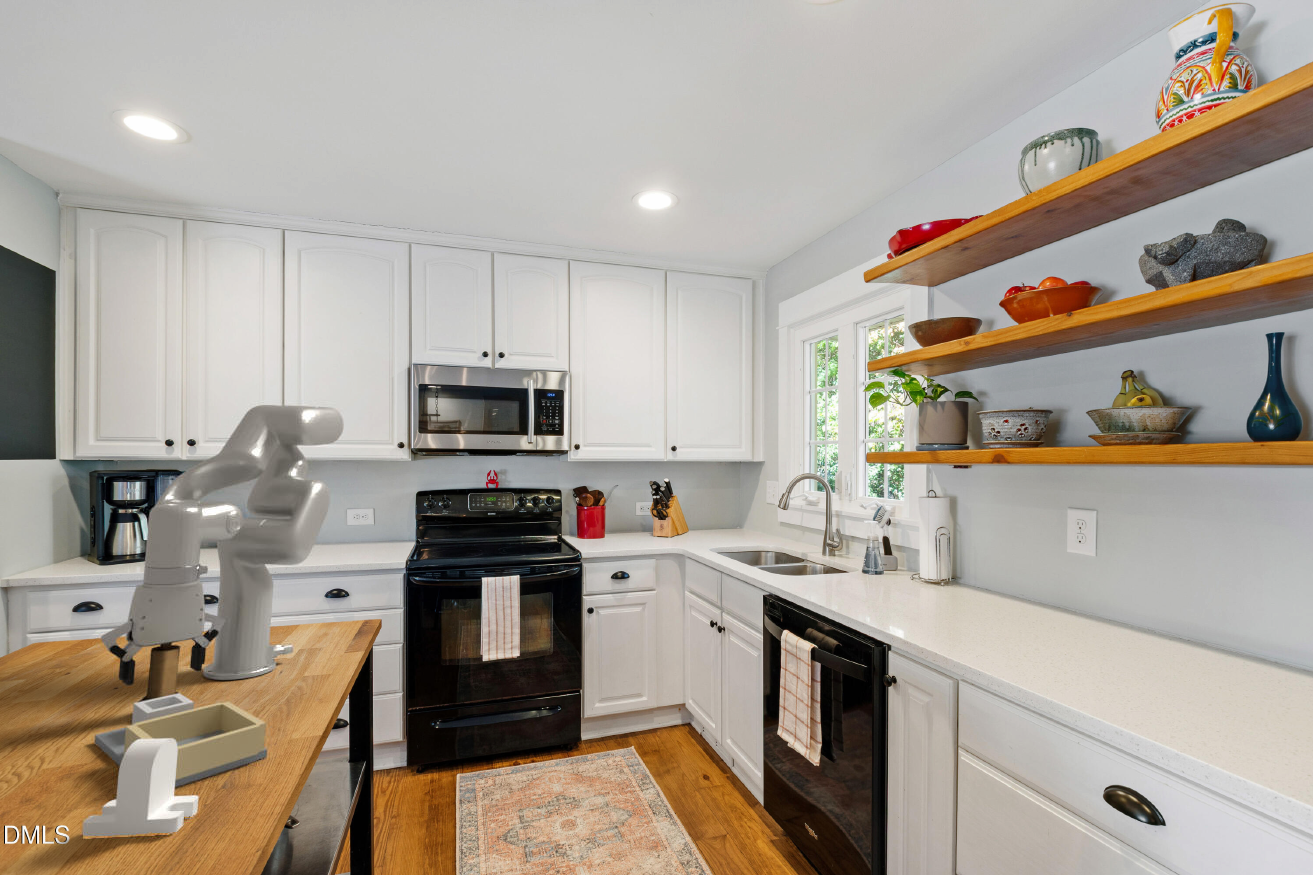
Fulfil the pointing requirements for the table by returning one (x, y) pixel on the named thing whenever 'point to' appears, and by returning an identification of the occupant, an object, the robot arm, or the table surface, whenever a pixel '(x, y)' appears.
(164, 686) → the brown pepper mill
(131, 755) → the cable organizer
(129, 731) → the socket board
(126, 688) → the table surface
